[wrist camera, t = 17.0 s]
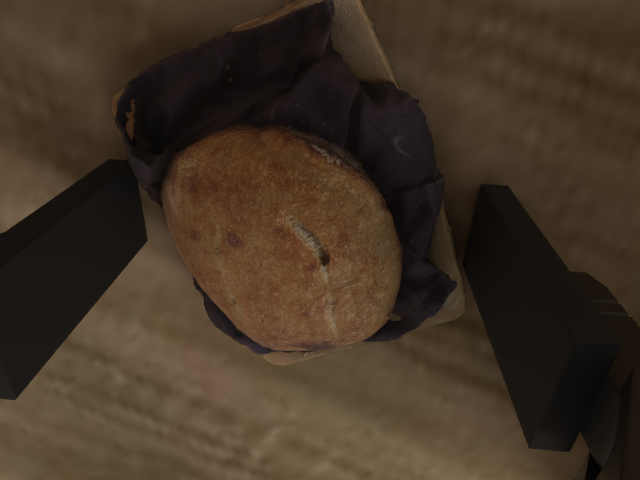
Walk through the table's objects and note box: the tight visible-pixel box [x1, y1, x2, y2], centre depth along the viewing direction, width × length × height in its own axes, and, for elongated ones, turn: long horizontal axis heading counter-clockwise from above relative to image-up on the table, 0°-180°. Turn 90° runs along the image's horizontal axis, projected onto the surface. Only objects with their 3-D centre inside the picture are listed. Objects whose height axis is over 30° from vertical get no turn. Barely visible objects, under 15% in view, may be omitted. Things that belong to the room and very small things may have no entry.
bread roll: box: [112, 0, 466, 366], centre depth 12 cm, size 11×8×4 cm
